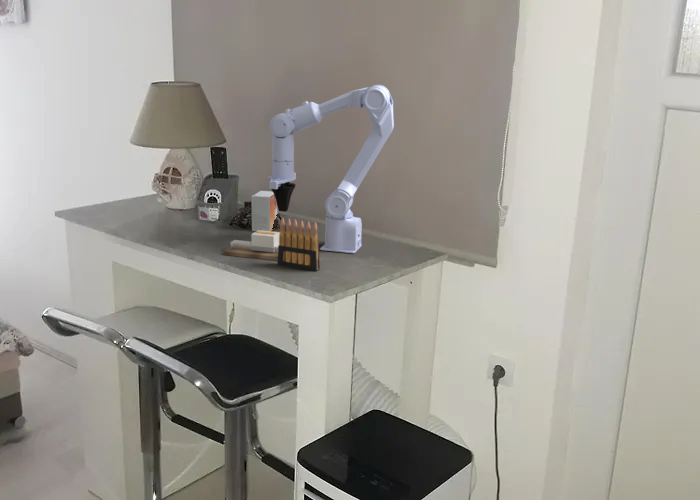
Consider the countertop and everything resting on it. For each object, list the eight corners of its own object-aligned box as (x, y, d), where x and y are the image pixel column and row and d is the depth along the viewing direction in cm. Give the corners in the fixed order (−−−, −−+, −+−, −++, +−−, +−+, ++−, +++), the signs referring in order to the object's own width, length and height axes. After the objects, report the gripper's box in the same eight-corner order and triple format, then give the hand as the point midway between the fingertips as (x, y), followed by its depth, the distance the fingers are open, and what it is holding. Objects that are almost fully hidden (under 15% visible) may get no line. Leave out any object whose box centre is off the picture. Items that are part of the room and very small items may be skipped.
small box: (270, 232, 199) (269, 196, 196) (251, 231, 200) (250, 195, 197) (278, 226, 207) (278, 191, 204) (260, 224, 208) (259, 190, 205)
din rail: (299, 252, 178) (299, 246, 178) (295, 254, 176) (295, 249, 175) (234, 245, 183) (234, 239, 182) (230, 247, 180) (230, 242, 180)
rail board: (305, 252, 181) (305, 248, 181) (293, 262, 173) (293, 258, 173) (238, 245, 186) (238, 241, 186) (223, 254, 178) (223, 251, 177)
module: (280, 247, 180) (279, 231, 179) (273, 252, 176) (273, 235, 175) (258, 245, 182) (258, 229, 181) (251, 250, 178) (251, 233, 177)
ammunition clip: (277, 265, 171) (277, 217, 167) (281, 263, 172) (280, 216, 169) (316, 271, 167) (317, 223, 163) (319, 269, 168) (320, 221, 165)
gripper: (278, 155, 189) (278, 203, 193) (257, 163, 176) (258, 215, 180) (303, 156, 187) (302, 206, 191) (284, 165, 174) (284, 217, 178)
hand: (283, 210), depth 185 cm, fingers closed
